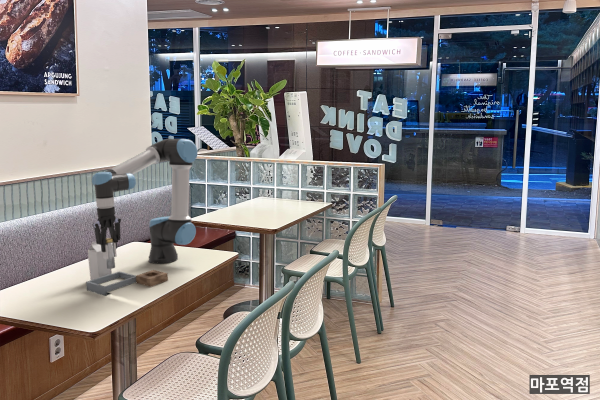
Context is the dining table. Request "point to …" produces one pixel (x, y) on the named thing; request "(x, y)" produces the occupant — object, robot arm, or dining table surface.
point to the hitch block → (151, 278)
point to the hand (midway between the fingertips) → (110, 257)
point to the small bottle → (110, 254)
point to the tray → (103, 290)
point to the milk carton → (97, 262)
